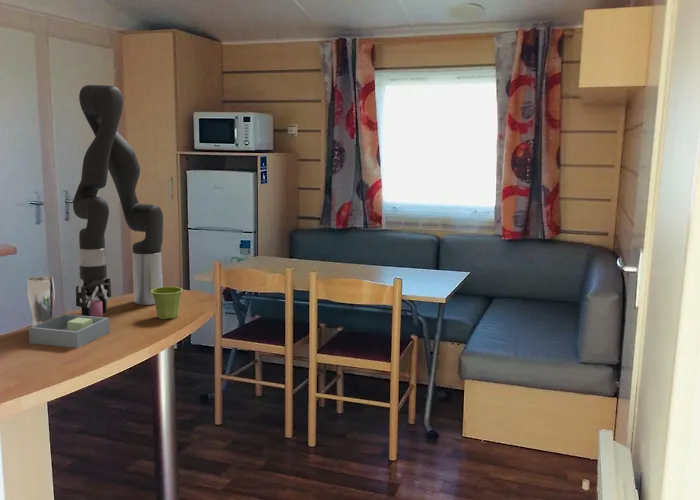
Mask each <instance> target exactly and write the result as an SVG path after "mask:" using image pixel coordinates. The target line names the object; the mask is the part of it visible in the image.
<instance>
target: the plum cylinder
mask: <svg viewBox="0 0 700 500" xmlns="http://www.w3.org/2000/svg"><path fill="white" fill-rule="evenodd" d="M89 307H90V316H92V317H103V318H104V315H103V314H104V313H103V308H102V301H100V300H93V301H91V304H90V306H89Z"/></svg>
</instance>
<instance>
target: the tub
mask: <svg viewBox="0 0 700 500" xmlns="http://www.w3.org/2000/svg"><path fill="white" fill-rule="evenodd" d="M75 318H89V319H93V324H91V325H89V326H87V327H85V328H82V329H80V330H78V331H68V326H67V322H68V321H71V320H73V319H75ZM109 333H110V317H104V316H103V317H92V316H82V314H81V315H79V314H68V313H63V314H61V315H57V316H55V317H53V318H52V319H50V320H47V321H44V322H42V323H39V324H37V325H34V326H32V325H31V326H30V327H28V339H29V340H28V342H29V344H33V345H34V344H35V345H45V346H54V347H64V348H73V349H79V348H81V347H83V346H85V345H88V344H89V343H92V342H94V341H95V340H97V339H99V338H101V337H103V336H105V335H107V334H109Z"/></svg>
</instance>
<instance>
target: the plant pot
mask: <svg viewBox="0 0 700 500" xmlns="http://www.w3.org/2000/svg"><path fill="white" fill-rule="evenodd" d="M182 292H183V288H182V287H179V286H178V287H177V286H163V287H160V288H155V289H153V290H151V293H152V294H153V297H154V300H155V304H154V305H155V311H156V316H157V318H158V319H161V320H168V319H176V318H177V317H179V307H180V299H181V296H182Z"/></svg>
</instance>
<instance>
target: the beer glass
mask: <svg viewBox="0 0 700 500" xmlns="http://www.w3.org/2000/svg"><path fill="white" fill-rule="evenodd" d="M55 295H56V294H55V283H54V277H53V276H51V275H36V276H31V277H29V278H27V299H28V304H29V308H30V311H31V318H32V319H31V321H32V323H31V327H32V326H34V325H37V324H39V323H42V322H44V321H47V320H50V319H52V318H54V314H53V313H54V305H55Z"/></svg>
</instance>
